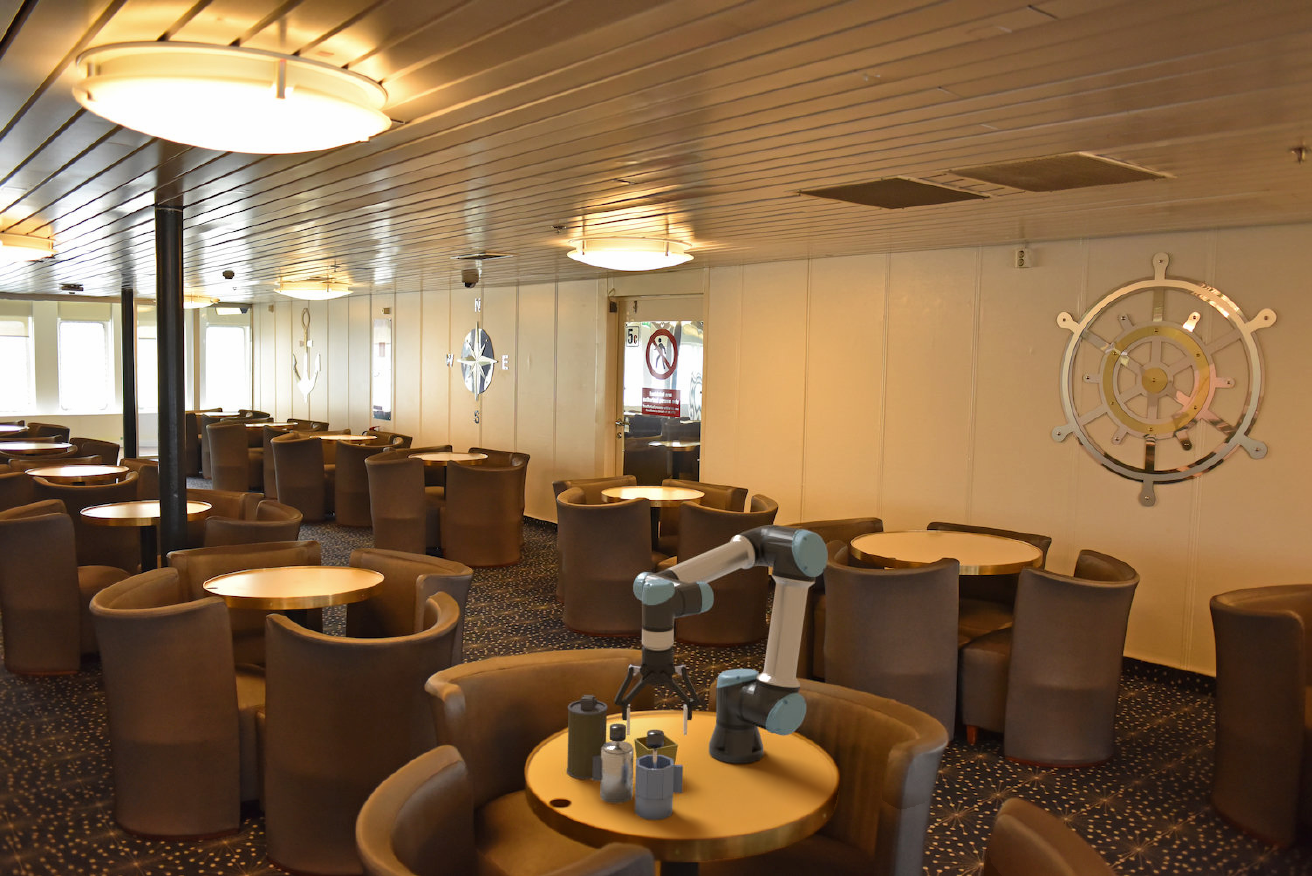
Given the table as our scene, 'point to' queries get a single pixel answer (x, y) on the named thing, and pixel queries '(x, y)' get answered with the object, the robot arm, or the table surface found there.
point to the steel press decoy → (615, 767)
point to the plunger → (655, 743)
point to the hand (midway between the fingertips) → (656, 733)
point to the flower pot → (666, 750)
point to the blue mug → (656, 786)
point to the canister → (585, 735)
